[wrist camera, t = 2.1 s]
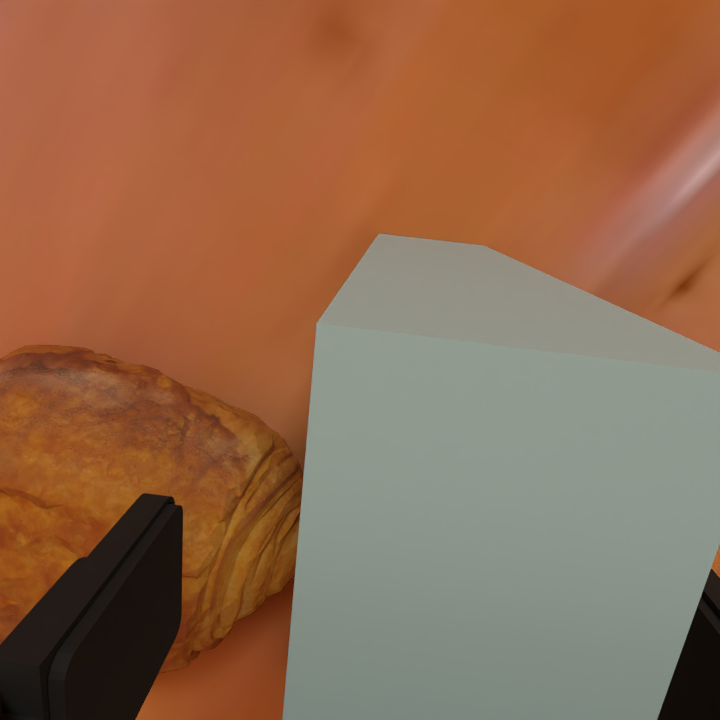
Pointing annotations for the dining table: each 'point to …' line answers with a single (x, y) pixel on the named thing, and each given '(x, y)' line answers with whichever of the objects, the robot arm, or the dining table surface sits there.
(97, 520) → the croissant
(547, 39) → the dining table surface
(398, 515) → the plain rectangular block
